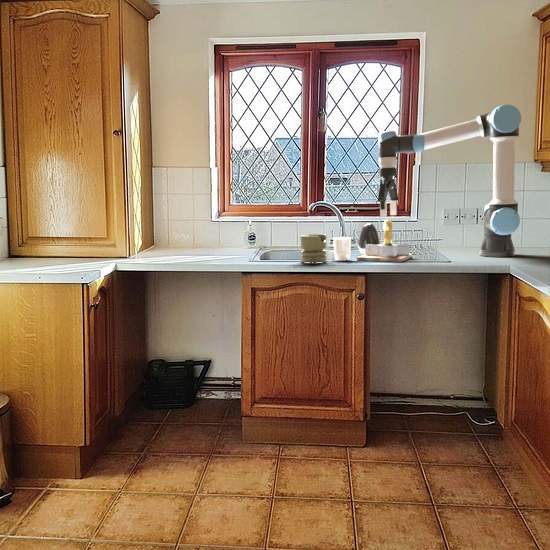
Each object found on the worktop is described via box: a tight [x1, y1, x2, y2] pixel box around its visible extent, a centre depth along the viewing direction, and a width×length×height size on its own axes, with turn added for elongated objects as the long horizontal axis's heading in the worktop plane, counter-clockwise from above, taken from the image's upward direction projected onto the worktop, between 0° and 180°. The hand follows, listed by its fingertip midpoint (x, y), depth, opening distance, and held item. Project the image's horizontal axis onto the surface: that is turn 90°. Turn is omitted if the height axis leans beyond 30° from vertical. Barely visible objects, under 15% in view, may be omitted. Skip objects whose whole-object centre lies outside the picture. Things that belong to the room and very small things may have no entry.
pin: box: [383, 219, 393, 246], centre depth 284 cm, size 4×4×16 cm
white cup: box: [332, 236, 352, 262], centre depth 287 cm, size 8×8×10 cm
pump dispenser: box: [357, 222, 381, 255], centre depth 303 cm, size 10×10×15 cm
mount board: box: [356, 253, 413, 263], centre depth 287 cm, size 20×16×2 cm
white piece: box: [366, 243, 410, 257], centre depth 287 cm, size 18×12×5 cm, turn 62°
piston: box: [300, 233, 328, 263], centre depth 282 cm, size 11×12×11 cm
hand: (388, 216), depth 282 cm, fingers open, 13 cm apart
